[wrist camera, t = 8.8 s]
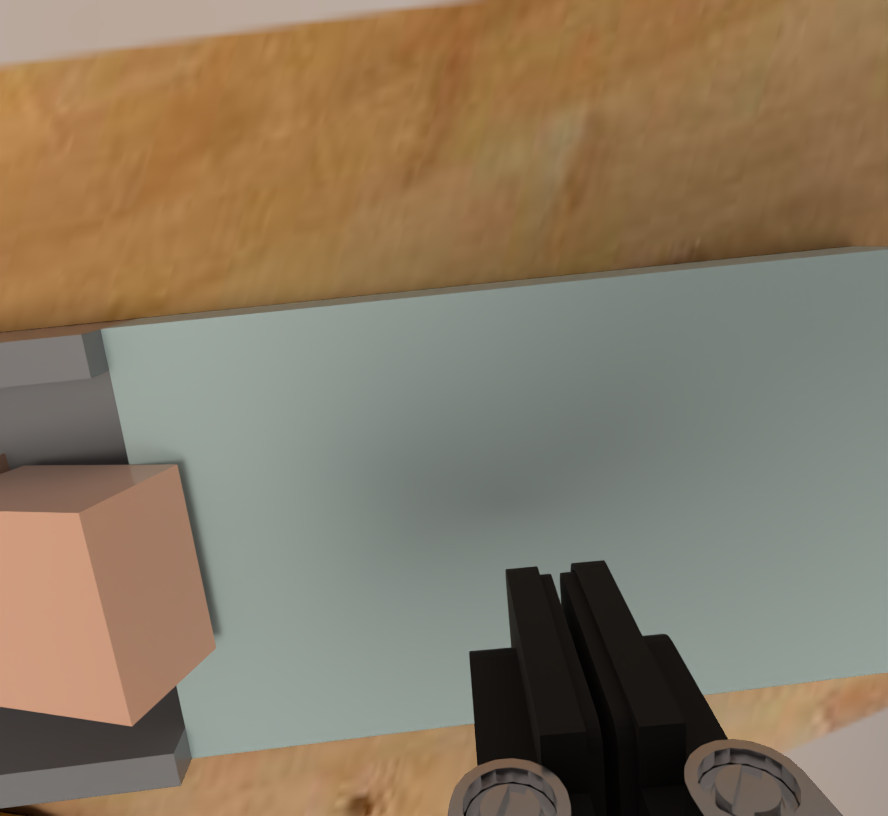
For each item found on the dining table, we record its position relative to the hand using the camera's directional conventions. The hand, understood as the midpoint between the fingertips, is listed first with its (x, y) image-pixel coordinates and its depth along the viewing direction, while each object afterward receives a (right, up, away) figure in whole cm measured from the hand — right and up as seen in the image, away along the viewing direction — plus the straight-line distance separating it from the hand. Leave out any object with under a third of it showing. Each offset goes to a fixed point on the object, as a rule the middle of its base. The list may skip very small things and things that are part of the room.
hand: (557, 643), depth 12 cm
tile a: (-10, 0, +6) cm, 12 cm away
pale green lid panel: (0, +2, +9) cm, 9 cm away
